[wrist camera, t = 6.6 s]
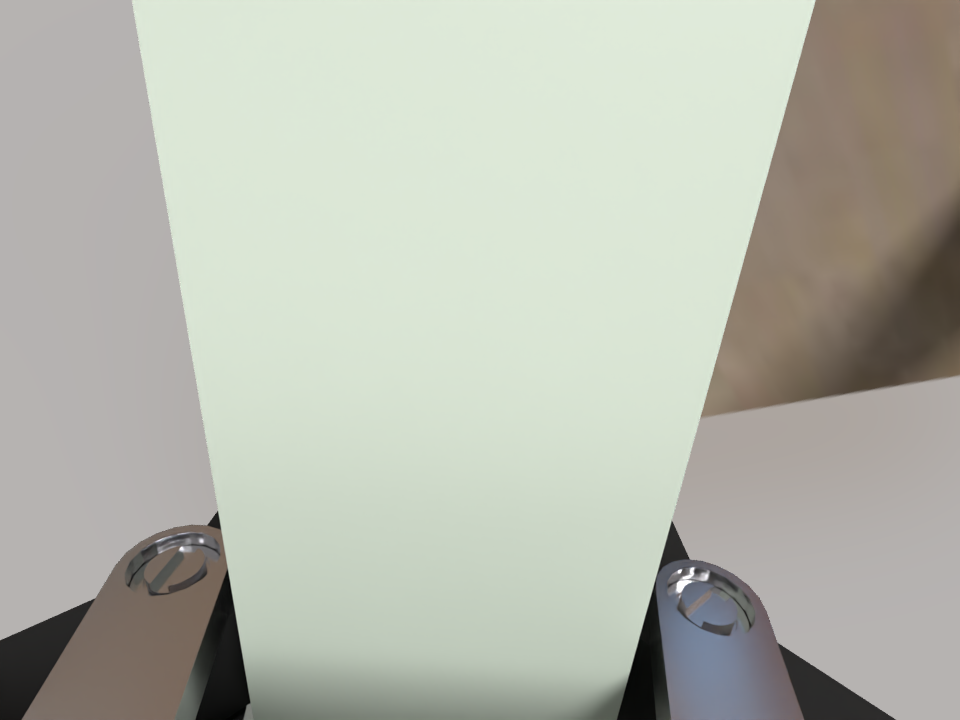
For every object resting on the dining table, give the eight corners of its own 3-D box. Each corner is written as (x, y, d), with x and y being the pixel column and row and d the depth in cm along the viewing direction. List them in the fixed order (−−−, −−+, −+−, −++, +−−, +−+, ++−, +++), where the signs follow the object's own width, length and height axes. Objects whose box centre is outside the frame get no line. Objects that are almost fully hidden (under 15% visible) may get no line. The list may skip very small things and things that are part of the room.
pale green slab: (542, 81, 21) (892, -277, 3) (506, 425, 27) (533, 1022, 9) (442, 73, 21) (73, -345, 3) (430, 419, 27) (302, 1008, 9)
